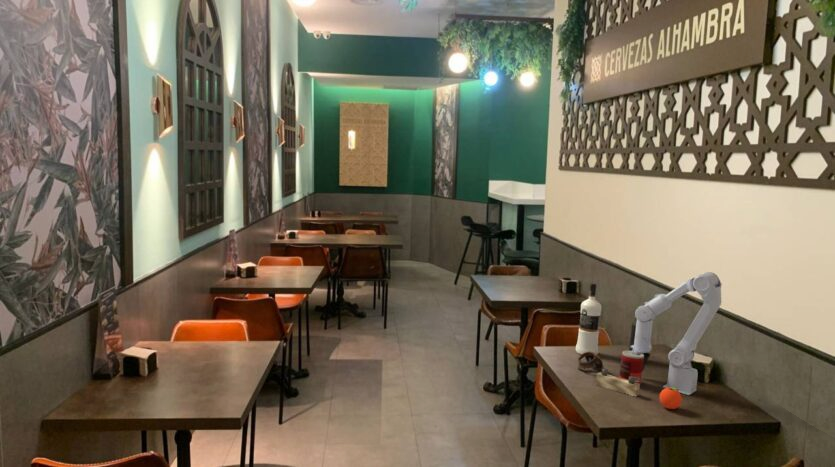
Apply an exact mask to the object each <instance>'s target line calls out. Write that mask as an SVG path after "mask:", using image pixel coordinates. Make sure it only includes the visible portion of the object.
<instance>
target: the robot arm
mask: <svg viewBox="0 0 835 467" xmlns="http://www.w3.org/2000/svg"><path fill="white" fill-rule="evenodd" d="M689 292H692V293H694V292H697V294H698V295H700V297H701V299H702V301H703V304H702V305H701V308H700V309H699V310H698V313H697V314H696V315H695V317H694V319H693V321H692V323H691V324H690V325H689V327H688V329H687V331H686V332H685V334H684V336H683V337H682V339H681V340H680V341H679V342H678V343H677V344H676V346H675V348H674V349H672V350H670V351H669V352H668V355H667V357H668V362H669V367H668V373H667V374H668V376H667V381H666V382H667V383H666V384H665V385H663V386H662V389H665V388H672V387H673V388H677V389H678V392H679V393H680V394H683V395H687V396H691V394H694V393H695V392H696V391H697V383H698V374H699V372H698V369H696V368H693V366H692V363H691V361H693V359H694V358H695V351H696V350H697V345H698V343H699V341H700V340H701V338H702V336H703V335H704V334H705V331H706V329H707V328H708V326H709V325H710V323H711V321H712V320H713V318H714V317H715V316H716V313H717V312H718V310H719V309H720V307H721V305H722V282H721V280H720V278H719V276H718V275H717V274H716V273H714V272H713V271H712V272H709V271H707V272H704V273H702V274H698V275H696V276H695V277H691V278H690V279H687V280H685V281H684V282H683V283H681V284H679V285H678V286H677V287H675V288H674V289H673V290H671V291H669V292H668V293H667V294H666V293H656V294H655V295H654V298H651V300H649V301H645V302H644V305H640V306H638V307H637V308H636V309H635V312H634V317H635V316H636V318H637V323H636V331H635V340H634V345H632V346H631V348H633V350H632V351H631V354H635V355H637V354H640V353H642V354H643V355H644V362H643V369H642V373H643V371H644V369H645V367H646V364H647V361H648V360H649V358H650V357H651V353H650V352H651V351H652V344H651V341H652V332H653V323H654V322H653V321H654V319H656V316H659V315H660V314H661V313H663V312H665V311H666V310H668V309H670V308H671V307H672V304H673V302H674V301H676V300H677V299H679V298H680V297H682V296H684V295H686V294H688V293H689ZM677 389H676V390H677Z"/></svg>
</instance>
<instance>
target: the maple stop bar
mask: <svg viewBox="0 0 835 467" xmlns="http://www.w3.org/2000/svg"><path fill="white" fill-rule="evenodd" d="M608 372H609V369H607V368H604V369H601V371H600V372H598V373H597V372H596V374H595V383H594V386H598V387H602V388H604V389H607V390H612V391H614V392H617V391H618V393H620V392H622V393H621V394H624V393H626V394H625V395H627V394H629V395H628V396H630V395H631V396H630V397H633V396H635V397H634V398H636V397H638V396H639V395H640V388H641V387H640V386H641V383H640V384H638V383H635V377H632V376H630V377H629V381H628V380H625V379H621V378H619V376H618V377H617V376H613V375H610V374H608ZM637 395H638V396H637Z"/></svg>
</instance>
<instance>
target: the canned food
mask: <svg viewBox="0 0 835 467" xmlns="http://www.w3.org/2000/svg"><path fill="white" fill-rule="evenodd" d="M621 352H622V354H621V357H620V358H621V360H620V366H619V376H618V378H621V379H625V380H628V381H629V377H630V376H632V377H635V383H638V384H640V385H641V382H642V376H643V372H642V369H643V362H644V355H643V354H642V353H640V354H637V355H635V354H631V351H629V350H623V351H621ZM643 370H644V369H643Z"/></svg>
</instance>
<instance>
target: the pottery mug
mask: <svg viewBox="0 0 835 467" xmlns="http://www.w3.org/2000/svg"><path fill="white" fill-rule="evenodd" d="M583 358H585V361H582V359H583ZM577 359H578V362H577V369H578V370H580V369H584V370H585V369H586V370H587V369H591V368H592V369H600V370H602V369H605V368H604V364H603V361H602V360H603V359H602V358H601V357H600V356H599V355H598V354H597V355H596V354H595V353H594V352H591V351H589V352H585V353H583V354H579V356H578V358H577Z"/></svg>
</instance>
